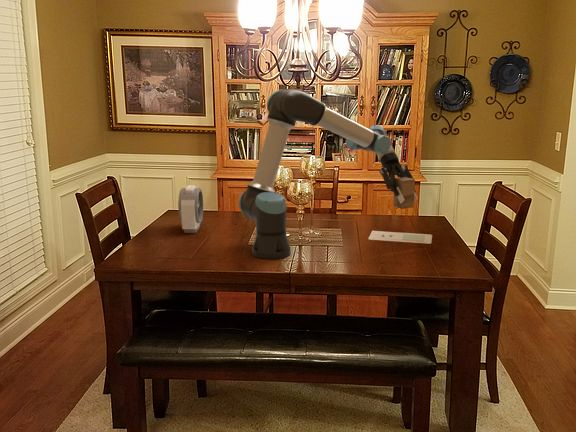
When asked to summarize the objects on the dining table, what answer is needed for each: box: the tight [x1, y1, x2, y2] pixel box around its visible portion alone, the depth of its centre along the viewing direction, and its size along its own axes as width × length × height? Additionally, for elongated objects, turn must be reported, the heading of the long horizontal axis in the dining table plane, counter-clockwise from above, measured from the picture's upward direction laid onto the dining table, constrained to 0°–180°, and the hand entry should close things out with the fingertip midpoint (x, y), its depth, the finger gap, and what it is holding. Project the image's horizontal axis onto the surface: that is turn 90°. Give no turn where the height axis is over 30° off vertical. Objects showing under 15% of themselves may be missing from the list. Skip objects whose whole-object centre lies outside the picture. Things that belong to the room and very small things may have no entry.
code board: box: [367, 230, 433, 245], centre depth 250 cm, size 14×26×1 cm, turn 75°
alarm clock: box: [177, 184, 204, 234], centre depth 263 cm, size 18×8×20 cm, turn 179°
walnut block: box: [392, 177, 416, 210], centre depth 246 cm, size 6×6×12 cm
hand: (409, 200), depth 243 cm, fingers closed on walnut block, 6 cm apart
